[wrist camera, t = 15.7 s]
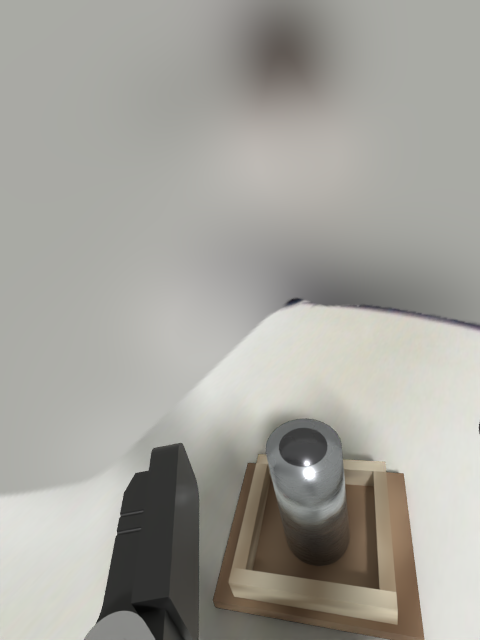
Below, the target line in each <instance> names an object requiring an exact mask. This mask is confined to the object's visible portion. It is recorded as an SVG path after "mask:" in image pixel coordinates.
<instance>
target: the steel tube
mask: <svg viewBox="0 0 480 640" xmlns="http://www.w3.org/2000/svg"><path fill="white" fill-rule="evenodd" d="M266 456H267V461H268V465H269V469H270V473H271V477H272V482H273V486H274V490H275V494H276V499H277V503H278V507H279V511H280V515H281V520H282V524H283V528H284V532H285V537H286V541H287V544H288V546H289V548H290V550H291V551H292V553H293V554H294V555H295V556H296V557H297V558H298V559H299V560H301V561H303V562H305V563H307V564H310V565H314V566H325V565H329V564H332V563H334V562H336V561H337V560H339V559H340V558H341V557H342V556H343V555H344V553H345V552H346V550H347V548H348V545H349V541H350V531H349V521H348V510H347V499H346V488H345V478H344V467H343V456H342V445H341V441H340V438H339V436H338V434H337V433H336V432H335V431H334V430H333V429H332V428H331V427H330V426H328V425H327V424H325V423H323V422H320V421H317V420H313V419H296V420H292V421H289V422H286V423H284V424H282V425H281V426H279V427H278V428H277V429H275V430H274V431H273V433H272V434H271V435H270V437H269V438H268V441H267V444H266Z"/></svg>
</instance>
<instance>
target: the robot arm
mask: <svg viewBox="0 0 480 640" xmlns="http://www.w3.org/2000/svg"><path fill="white" fill-rule="evenodd" d="M479 433H480V424H479ZM120 515H121V517H120V518H119V523H118V528H117V536H116V538H115V544H114V549H113V554H112V559H111V565H110V570H109V575H108V581H107V586H106V591H105V596H104V602H103V606H102V610H101V613H100V616H99V618H98V620H97V622H96V624H95V626H94V627H93V628H92V629H91V630H90V631H89V633H88V634H87V635H86V637H85V639H84V640H198V614H199V493H198V486H197V482H196V478H195V475H194V473H193V470H192V467H191V464H190V462H189V459H188V456H187V454H186V451H185V448H184V446H183V444H182V443H178V444H173V445H168V446H162V447H157V448H154V449H153V450H152V453H151V459H150V467H149V471H144V472H139V473H135V475H134V477H133V478H132V480H131V482H130V483H129V485H128V487H127V489H126V490H125V492H124V496H123V501H122V507H121V512H120Z"/></svg>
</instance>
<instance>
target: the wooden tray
mask: <svg viewBox="0 0 480 640" xmlns="http://www.w3.org/2000/svg"><path fill="white" fill-rule="evenodd" d="M343 467H344V478H345V488H346V499H347V510H348V521H349V531H350V541H349V545H348V548H347V550H346V552H345V553H344V555H343V556H342V557H341V558H340V559H339V560H337V561H336V562H334V563H332V564H329V565H325V566H314V565H310V564H307V563H305V562H303V561H301V560H299V559H298V558H297V557H296V556H295V555H294V554H293V553H292V551H291V550H290V548H289V546H288V544H287V541H286V537H285V532H284V528H283V524H282V520H281V515H280V511H279V507H278V503H277V499H276V494H275V490H274V486H273V482H272V477H271V473H270V469H269V465H268V461H267V456H266V455H264V454H258V458H257V463H248V465H247V469H246V472H245V476H244V480H243V484H242V488H241V492H240V496H239V500H238V504H237V508H236V512H235V516H234V519H233V523H232V527H231V531H230V535H229V539H228V543H227V547H226V551H225V555H224V559H223V563H222V566H221V570H220V574H219V578H218V582H217V586H216V590H215V594H214V598H213V602H214V605H215V607H217V608H222V609H227V610H233V611H238V612H244V613H249V614H255V615H260V616H265V617H271V618H276V619H282V620H287V621H292V622H298V623H303V624H309V625H314V626H320V627H325V628H330V629H336V630H341V631H347V632H352V633H358V634H363V635H368V636H374V637H379V638H385V639H390V640H424V633H423V625H422V617H421V609H420V601H419V593H418V585H417V577H416V569H415V561H414V553H413V545H412V537H411V529H410V521H409V513H408V505H407V497H406V489H405V481H404V474H403V473H388V472H386V464H385V462H379V461H363V460H346V459H343Z"/></svg>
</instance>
